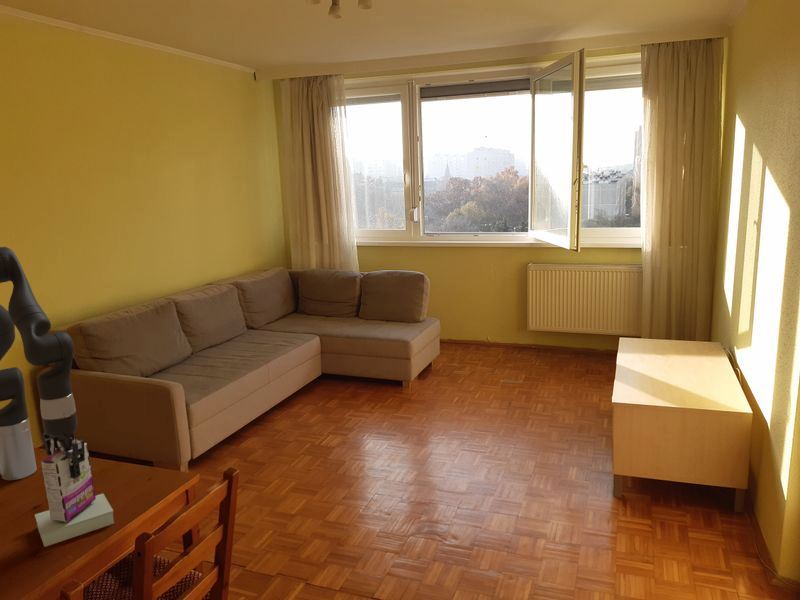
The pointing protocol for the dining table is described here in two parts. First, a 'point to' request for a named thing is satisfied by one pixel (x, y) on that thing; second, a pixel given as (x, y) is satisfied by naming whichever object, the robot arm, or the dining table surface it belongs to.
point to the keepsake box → (75, 522)
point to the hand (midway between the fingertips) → (68, 474)
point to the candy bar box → (67, 486)
